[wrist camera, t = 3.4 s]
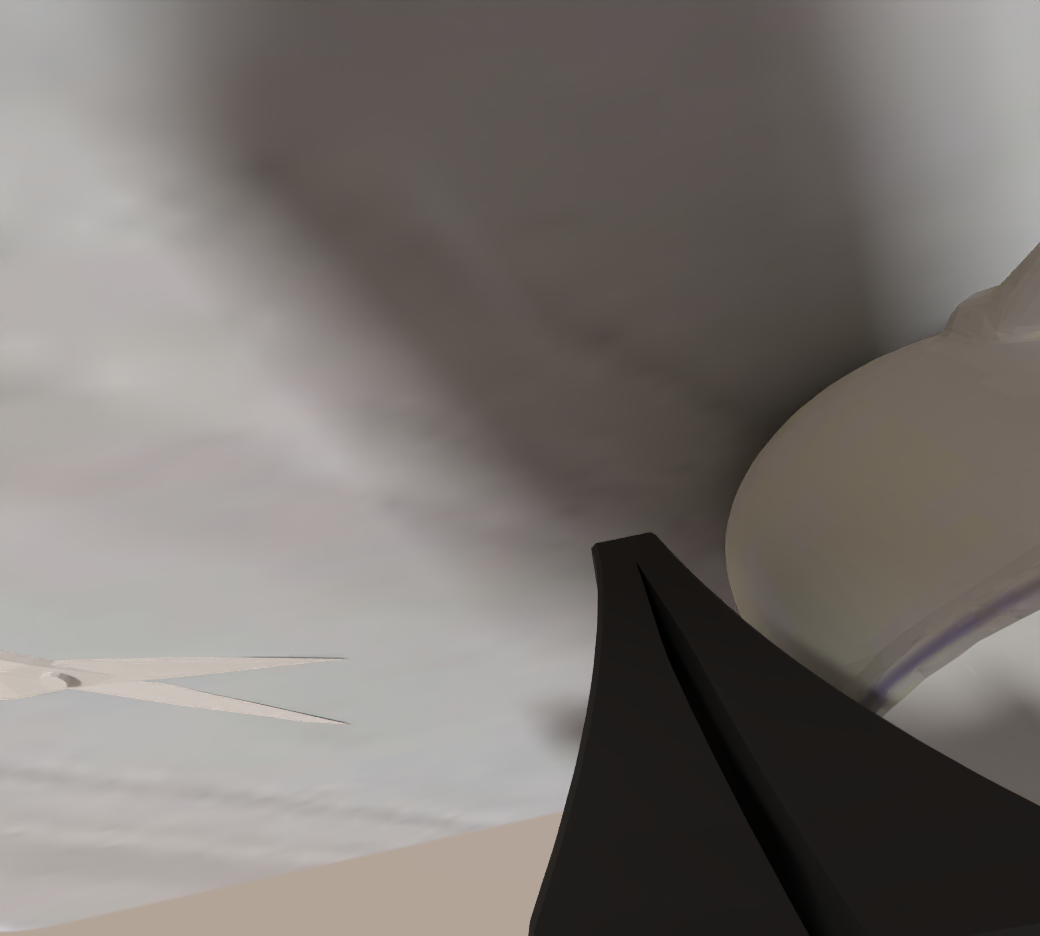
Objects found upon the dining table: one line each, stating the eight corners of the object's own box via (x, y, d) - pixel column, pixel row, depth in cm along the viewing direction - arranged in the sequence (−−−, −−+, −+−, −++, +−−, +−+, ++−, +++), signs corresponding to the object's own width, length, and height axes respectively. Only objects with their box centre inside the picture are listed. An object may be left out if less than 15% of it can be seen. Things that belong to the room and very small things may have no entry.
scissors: (-537, 520, 11) (354, 598, 14) (-480, 501, 12) (359, 580, 15) (-257, 762, 16) (346, 778, 20) (-228, 739, 17) (350, 758, 20)
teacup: (941, 591, 17) (1244, 862, 10) (649, 611, 17) (771, 915, 10) (1251, 116, 10) (2924, -11, 3) (751, 112, 9) (1535, -65, 2)
